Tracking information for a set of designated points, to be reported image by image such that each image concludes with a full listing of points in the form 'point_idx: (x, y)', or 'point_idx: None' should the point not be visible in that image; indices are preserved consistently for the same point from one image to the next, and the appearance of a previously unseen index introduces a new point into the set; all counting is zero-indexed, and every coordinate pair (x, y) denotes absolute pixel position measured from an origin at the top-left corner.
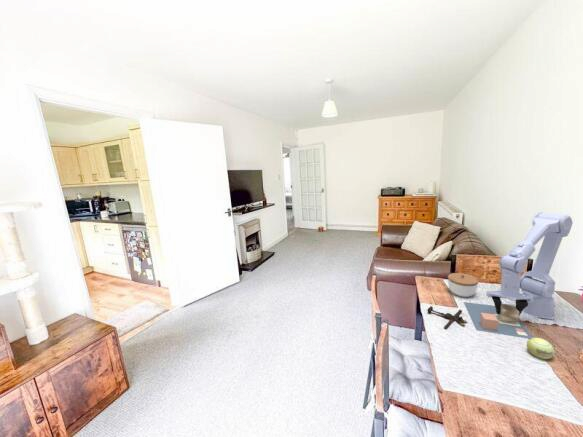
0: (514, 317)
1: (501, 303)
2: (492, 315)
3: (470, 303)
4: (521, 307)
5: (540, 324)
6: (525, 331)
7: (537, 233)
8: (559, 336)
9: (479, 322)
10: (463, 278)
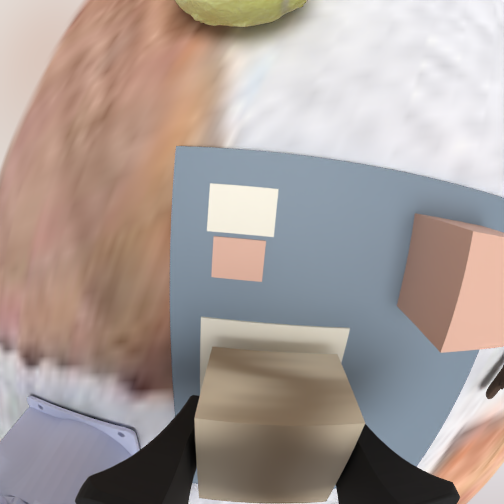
0: (241, 374)
1: (388, 491)
2: (466, 326)
3: None
4: (158, 468)
5: (80, 361)
6: (198, 250)
7: None
8: (30, 251)
9: None
10: None
